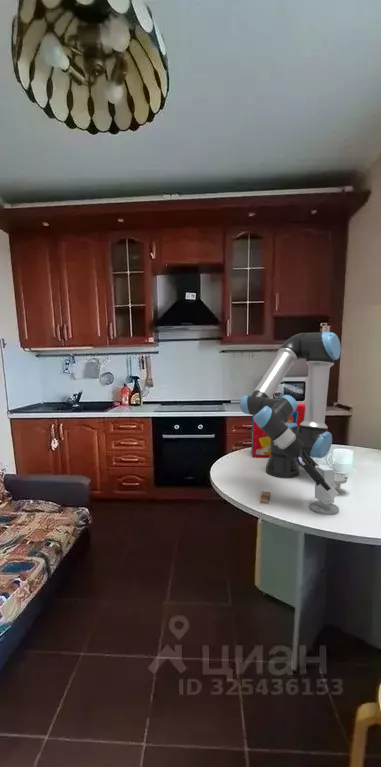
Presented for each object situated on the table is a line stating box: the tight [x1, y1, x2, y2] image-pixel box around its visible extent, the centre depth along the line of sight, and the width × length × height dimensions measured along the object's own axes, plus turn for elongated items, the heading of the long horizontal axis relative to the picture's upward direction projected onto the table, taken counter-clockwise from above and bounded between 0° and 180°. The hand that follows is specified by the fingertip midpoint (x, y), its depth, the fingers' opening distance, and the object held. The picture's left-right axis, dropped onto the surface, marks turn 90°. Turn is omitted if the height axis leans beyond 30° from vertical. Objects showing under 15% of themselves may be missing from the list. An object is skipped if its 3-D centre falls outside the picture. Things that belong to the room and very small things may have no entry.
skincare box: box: [314, 464, 335, 504], centre depth 131 cm, size 6×4×12 cm
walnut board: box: [259, 490, 271, 505], centre depth 140 cm, size 10×3×1 cm, turn 164°
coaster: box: [308, 500, 340, 516], centre depth 132 cm, size 10×10×1 cm
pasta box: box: [251, 403, 305, 459], centre depth 196 cm, size 28×8×28 cm, turn 85°
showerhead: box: [334, 472, 349, 492], centre depth 147 cm, size 9×7×10 cm
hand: (334, 492), depth 130 cm, fingers closed on skincare box, 7 cm apart
